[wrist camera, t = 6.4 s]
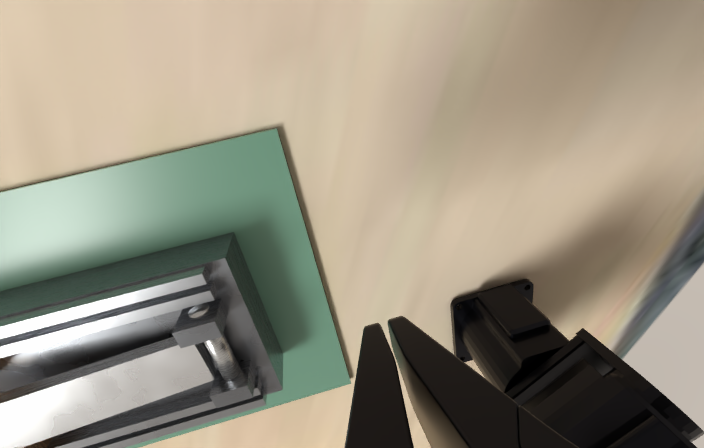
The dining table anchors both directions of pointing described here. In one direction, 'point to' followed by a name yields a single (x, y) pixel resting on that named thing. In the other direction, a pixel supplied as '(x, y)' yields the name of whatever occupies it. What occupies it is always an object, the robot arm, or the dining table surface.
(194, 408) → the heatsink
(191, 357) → the grey flat long bar
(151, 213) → the board
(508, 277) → the dining table surface
